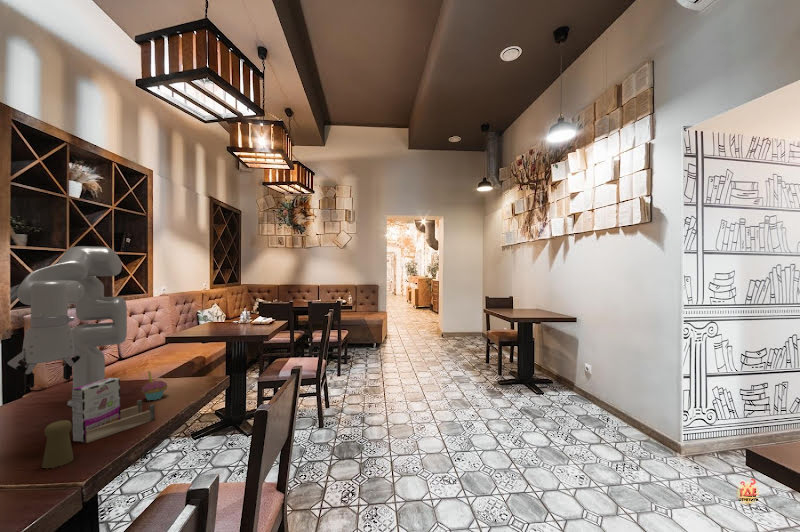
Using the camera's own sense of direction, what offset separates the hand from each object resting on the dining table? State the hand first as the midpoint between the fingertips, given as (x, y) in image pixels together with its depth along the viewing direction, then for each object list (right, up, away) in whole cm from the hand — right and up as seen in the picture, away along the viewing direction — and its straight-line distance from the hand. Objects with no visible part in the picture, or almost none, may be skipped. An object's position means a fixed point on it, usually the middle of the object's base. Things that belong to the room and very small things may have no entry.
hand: (49, 382), depth 97 cm
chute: (+8, -20, +13) cm, 25 cm away
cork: (+10, -20, -7) cm, 23 cm away
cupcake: (+2, -21, +39) cm, 44 cm away
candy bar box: (+6, -20, +9) cm, 23 cm away
